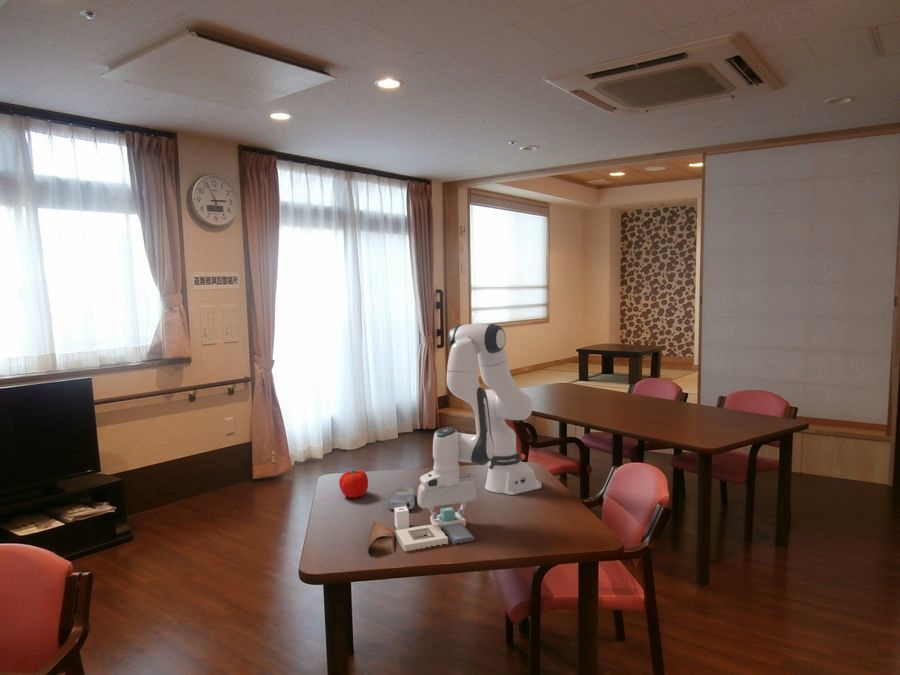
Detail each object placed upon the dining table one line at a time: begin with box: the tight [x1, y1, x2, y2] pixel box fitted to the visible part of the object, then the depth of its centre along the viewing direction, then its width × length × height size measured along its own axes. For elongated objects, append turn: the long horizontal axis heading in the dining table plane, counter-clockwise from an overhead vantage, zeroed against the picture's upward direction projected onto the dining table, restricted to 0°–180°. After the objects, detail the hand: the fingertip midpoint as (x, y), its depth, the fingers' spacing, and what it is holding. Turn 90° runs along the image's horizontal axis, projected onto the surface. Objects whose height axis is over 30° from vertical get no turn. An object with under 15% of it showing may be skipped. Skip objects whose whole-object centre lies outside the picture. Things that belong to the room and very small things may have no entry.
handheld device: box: [388, 486, 415, 510], centre depth 221 cm, size 10×20×5 cm, turn 179°
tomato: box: [338, 467, 369, 499], centre depth 229 cm, size 11×13×10 cm
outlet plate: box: [394, 523, 449, 552], centre depth 187 cm, size 14×12×2 cm
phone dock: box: [429, 511, 476, 545], centre depth 194 cm, size 10×20×2 cm, turn 19°
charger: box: [393, 506, 410, 530], centre depth 198 cm, size 4×4×6 cm
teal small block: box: [439, 506, 456, 522], centre depth 199 cm, size 4×4×5 cm
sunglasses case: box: [367, 522, 396, 556], centre depth 186 cm, size 18×7×7 cm
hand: (447, 516), depth 199 cm, fingers open, 8 cm apart
